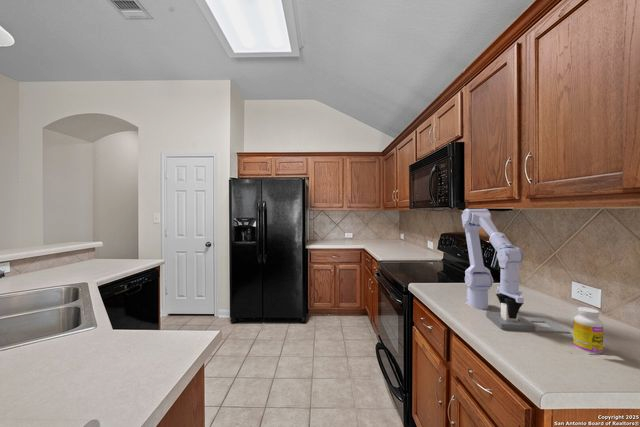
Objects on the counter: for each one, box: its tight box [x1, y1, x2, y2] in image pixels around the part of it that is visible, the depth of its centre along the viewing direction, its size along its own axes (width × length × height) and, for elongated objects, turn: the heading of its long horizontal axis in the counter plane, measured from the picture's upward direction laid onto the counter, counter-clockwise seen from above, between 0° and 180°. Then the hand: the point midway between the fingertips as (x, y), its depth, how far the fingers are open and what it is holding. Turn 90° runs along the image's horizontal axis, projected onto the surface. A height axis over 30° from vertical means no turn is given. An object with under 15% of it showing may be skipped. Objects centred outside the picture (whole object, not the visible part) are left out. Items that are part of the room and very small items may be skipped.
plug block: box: [500, 303, 519, 321], centre depth 103 cm, size 4×4×8 cm
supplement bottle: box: [572, 306, 604, 356], centre depth 85 cm, size 7×7×13 cm
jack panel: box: [485, 310, 571, 334], centre depth 102 cm, size 12×22×3 cm, turn 82°
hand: (509, 315), depth 103 cm, fingers closed on plug block, 4 cm apart
